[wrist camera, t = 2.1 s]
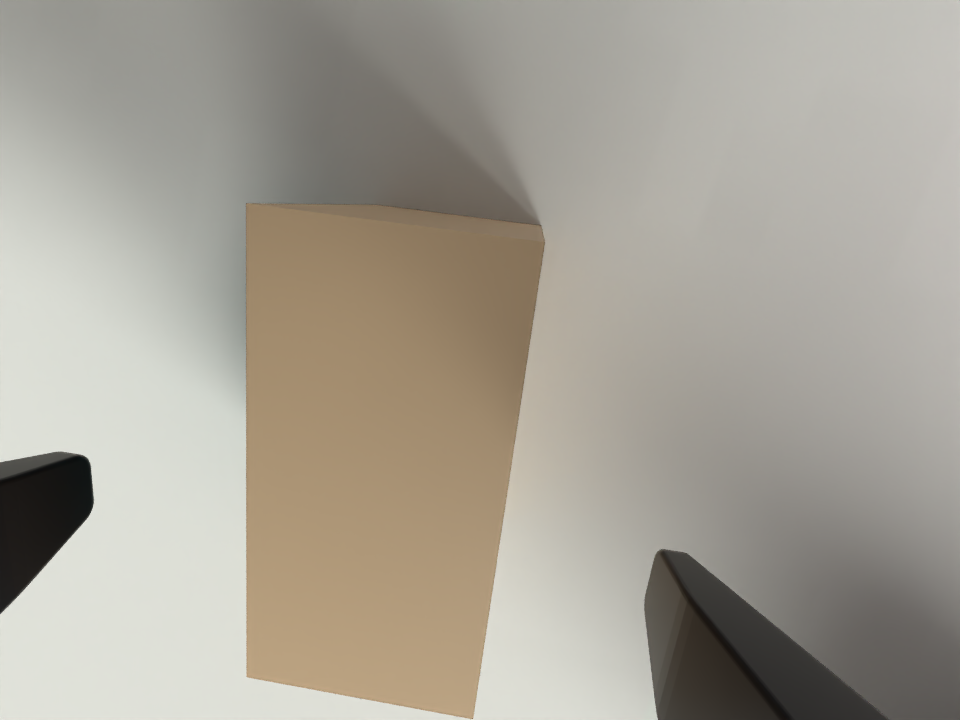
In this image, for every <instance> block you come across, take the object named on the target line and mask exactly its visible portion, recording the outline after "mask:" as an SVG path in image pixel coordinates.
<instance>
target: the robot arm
mask: <svg viewBox="0 0 960 720" xmlns="http://www.w3.org/2000/svg"><path fill="white" fill-rule="evenodd" d="M93 504H94V497H93V485H92V474H91V465H90V462H89V460H88V459H87V458H86V457H85V456H83V455H79V454H73V453H67V452H53V453H48V454H42V455H37V456H32V457H26V458H21V459H16V460H11V461H5V462H0V614H1V613H2V612H3V611H4V610H5V609H6V608H7V607H8V606H9V605H10V604H11V603H12V602H13V601H14V600H15V599H16V598H17V597H18V596H19V595H20V594H21V592H22V591H23V590H24V589H25V588H26V587H27V586H28V585H29V584H30V583H31V581H32V580H33V579H34V578H35V577H36V576H37V575H38V574H39V572H40V571H41V570H42V569H43V568H44V567H45V566H46V564H47V563H48V562H49V561H50V560H51V559H52V558H53V557H54V555H55V554H56V553H57V552H58V551H59V550H60V549H61V547H62V546H63V545H64V544H65V543H66V542H67V541H68V540H69V538H70V537H71V536H72V535H73V534H74V533H75V532H76V530H77V529H78V528H79V527H80V526H81V525H82V524H83V523H84V521H85V520H86V519H87V518H88V517H89V515H90V513H91V511H92V508H93ZM644 610H645V620H646V628H647V637H648V646H649V654H650V663H651V671H652V680H653V689H654V697H655V704H656V712H657V717H658V720H890V719H888V718H887V717H886V716H885V715H883V714H882V713H881V712H880V711H879V710H877V709H876V708H875V707H874V706H873V705H871V704H870V703H869V702H868V701H866V700H865V699H864V698H863V697H862V696H860V695H859V694H858V693H857V692H855V691H854V690H853V689H852V688H851V687H849V686H848V685H847V684H846V683H844V682H843V681H842V680H841V679H840V678H838V677H837V676H836V675H835V674H834V673H832V672H831V671H830V670H829V669H827V668H826V667H825V666H824V665H823V664H821V663H820V662H819V661H818V660H816V659H815V658H814V657H813V656H812V655H810V654H809V653H808V652H807V651H805V650H804V649H803V648H802V647H801V646H799V645H798V644H797V643H796V642H794V641H793V640H792V639H791V638H790V637H788V636H787V635H786V634H785V633H784V632H782V631H781V630H780V629H779V628H777V627H776V626H775V625H774V624H773V623H771V622H770V621H769V620H768V619H766V618H765V617H764V616H763V615H762V614H760V613H759V612H758V611H757V610H755V609H754V608H753V607H752V606H751V605H749V604H748V603H747V602H746V601H744V600H743V599H742V598H741V597H740V596H738V595H737V594H736V593H735V592H734V591H732V590H731V589H730V588H729V587H727V586H726V585H725V584H724V583H723V582H721V581H720V580H719V579H718V578H716V577H715V576H714V575H713V574H712V573H710V572H709V571H708V570H707V569H705V568H704V567H703V566H702V565H701V564H699V563H698V562H697V561H696V560H695V559H693V558H692V557H691V556H690V555H688V554H687V553H684V552H678V551H672V550H666V549H661V550H659V551H658V552H657V553H656V555H655V558H654V562H653V566H652V570H651V574H650V578H649V582H648V586H647V590H646V595H645V604H644Z"/></svg>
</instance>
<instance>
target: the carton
mask: <svg viewBox="0 0 960 720" xmlns="http://www.w3.org/2000/svg"><path fill="white" fill-rule="evenodd" d="M544 245H545V240H544V236H543V232H542V227H541V226H540V225H532V224H524V223H516V222H508V221H500V220H493V219H485V218H477V217H469V216H461V215H453V214H446V213H438V212H430V211H422V210H414V209H406V208H398V207H391V206H383V205H359V204H255V203H246V567H247V677H249V678H254V679H259V680H265V681H270V682H275V683H281V684H286V685H292V686H297V687H302V688H308V689H313V690H319V691H324V692H329V693H335V694H340V695H345V696H351V697H356V698H362V699H367V700H372V701H378V702H383V703H389V704H394V705H399V706H405V707H410V708H415V709H421V710H426V711H432V712H437V713H442V714H448V715H453V716H459V717H464V718H469V719H473V716H474V709H475V702H476V696H477V689H478V682H479V676H480V669H481V663H482V656H483V649H484V643H485V636H486V629H487V623H488V616H489V610H490V603H491V596H492V590H493V583H494V576H495V570H496V563H497V557H498V550H499V543H500V537H501V530H502V523H503V517H504V510H505V504H506V497H507V490H508V484H509V477H510V470H511V464H512V457H513V451H514V444H515V437H516V431H517V424H518V417H519V411H520V404H521V398H522V391H523V384H524V378H525V371H526V364H527V358H528V351H529V345H530V338H531V331H532V325H533V318H534V311H535V305H536V298H537V292H538V285H539V278H540V272H541V265H542V258H543V252H544Z"/></svg>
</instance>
